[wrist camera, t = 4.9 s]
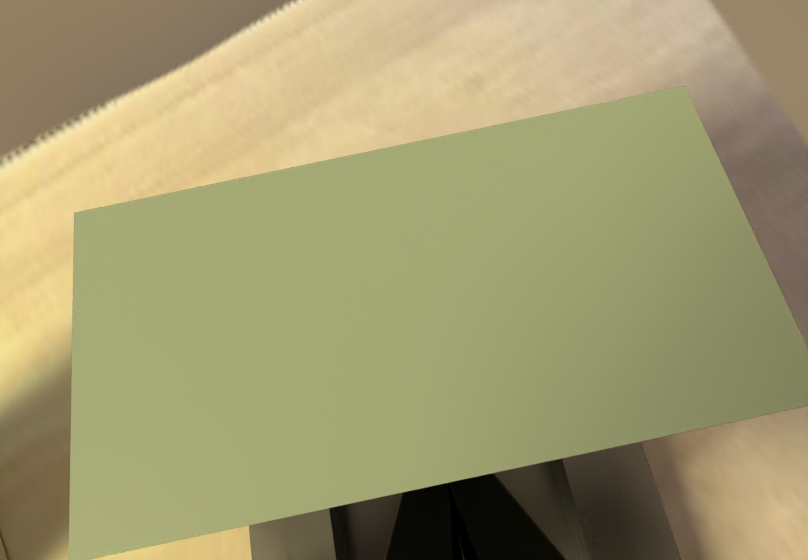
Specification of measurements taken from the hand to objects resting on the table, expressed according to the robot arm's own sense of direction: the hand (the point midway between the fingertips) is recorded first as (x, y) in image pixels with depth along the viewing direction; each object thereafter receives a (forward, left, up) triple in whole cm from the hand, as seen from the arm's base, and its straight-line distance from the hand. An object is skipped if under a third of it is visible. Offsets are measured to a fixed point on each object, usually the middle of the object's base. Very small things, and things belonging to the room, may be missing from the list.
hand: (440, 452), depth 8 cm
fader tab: (+1, -1, -6) cm, 6 cm away
